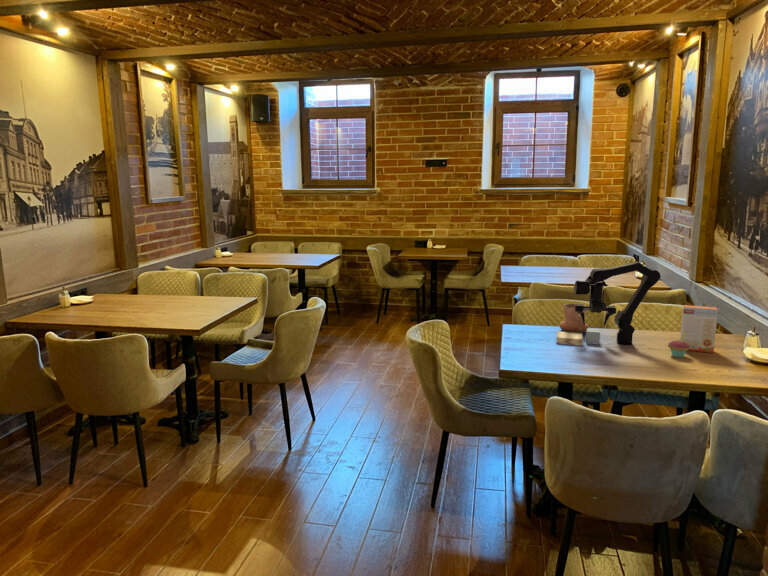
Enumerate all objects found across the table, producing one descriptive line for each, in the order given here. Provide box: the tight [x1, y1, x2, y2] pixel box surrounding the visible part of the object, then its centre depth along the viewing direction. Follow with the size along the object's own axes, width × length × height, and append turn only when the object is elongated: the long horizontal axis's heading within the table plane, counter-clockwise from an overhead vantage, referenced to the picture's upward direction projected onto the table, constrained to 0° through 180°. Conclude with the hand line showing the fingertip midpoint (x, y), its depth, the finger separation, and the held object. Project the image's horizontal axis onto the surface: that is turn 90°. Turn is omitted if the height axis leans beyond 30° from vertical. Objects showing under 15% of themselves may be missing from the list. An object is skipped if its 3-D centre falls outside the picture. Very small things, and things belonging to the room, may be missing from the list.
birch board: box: [556, 330, 584, 346], centre depth 277 cm, size 12×12×3 cm
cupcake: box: [667, 332, 690, 358], centre depth 253 cm, size 9×8×12 cm
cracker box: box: [679, 304, 719, 354], centre depth 261 cm, size 14×6×21 cm, turn 65°
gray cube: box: [585, 328, 601, 345], centre depth 276 cm, size 6×6×6 cm
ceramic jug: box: [559, 303, 589, 334], centre depth 294 cm, size 18×14×14 cm
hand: (594, 325), depth 275 cm, fingers open, 9 cm apart
